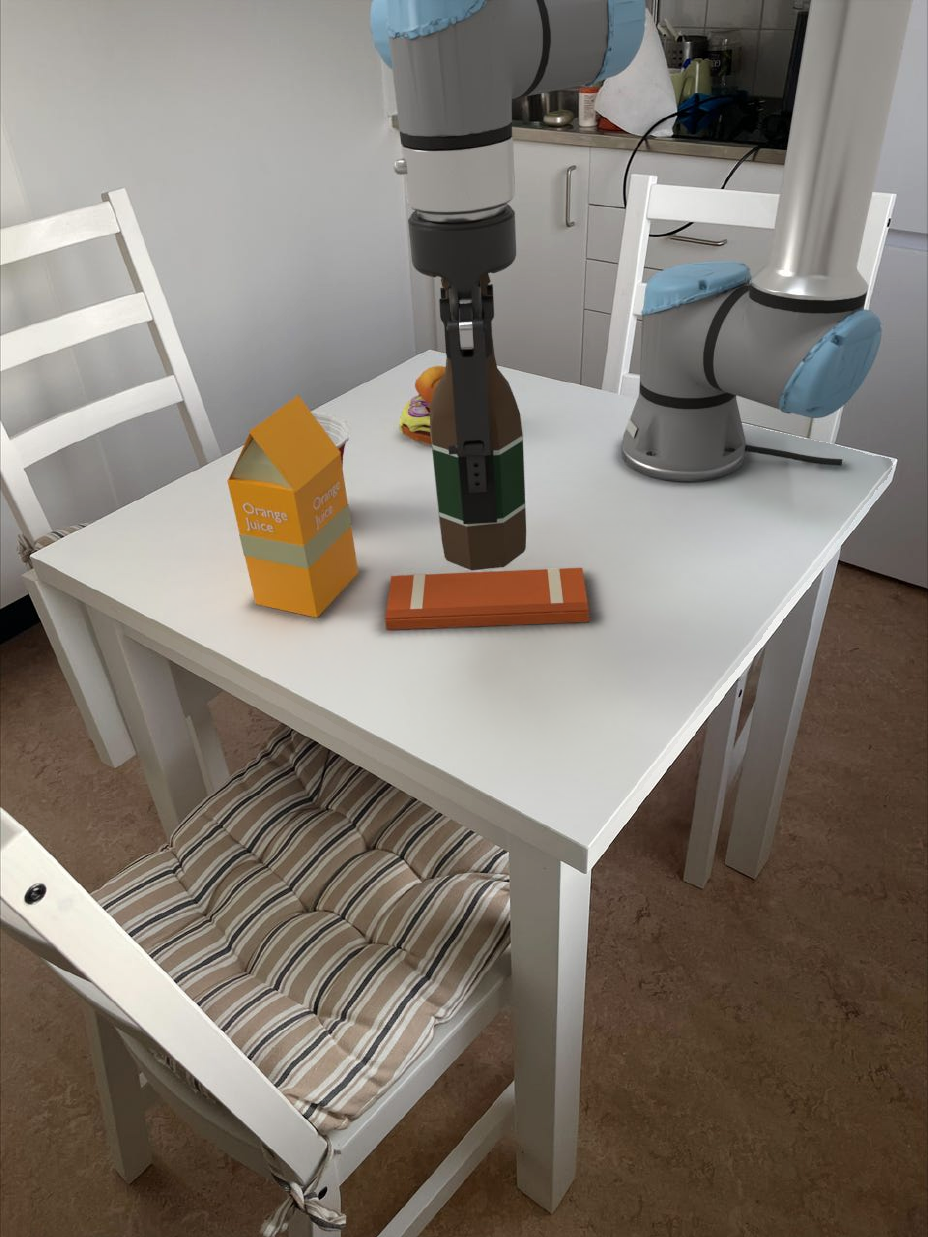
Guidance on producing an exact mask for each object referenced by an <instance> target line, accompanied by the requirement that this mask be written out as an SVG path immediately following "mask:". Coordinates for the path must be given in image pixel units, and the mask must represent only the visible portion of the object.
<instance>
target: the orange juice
mask: <svg viewBox="0 0 928 1237" xmlns="http://www.w3.org/2000/svg"><path fill="white" fill-rule="evenodd" d="M311 412H312V411H311V410H310V409H309V407H308V406H307V405H306V403H305V402H304V401H303V399H302V397H300V395H297V396H295V397H294V398H292V399H291V400H290V401H288V402H287V403H285V404H284V405H283V406H281V407H280V408H279V409H277V410H276V411H274V412H273V413H272V414H270V415H269V416H268V417H266V418H265V419H264V420H262V421H261V422H260V423H258V424H257V425H256V426H254V427H253V428H251V429H250V430H248V433H249V434H248V435H247V436H248V437H247V438H246V440H245V443H244V444H243V447H242V449H241V452H240V454H239V455H238V458H237V460H236V462H235V464H234V466H233V469H232V471H231V473H230V475H229V477H228V479H227V480H226V481H227V486H228V490H229V494H230V499H231V503H232V508H233V511H234V516H235V520H236V525H237V528H238V529H237V530H238V536H239V540H240V545H241V548H242V553H243V556H244V560H245V563H246V567H247V572H248V576H249V580H250V585H251V589H252V593H253V594H252V595H253V598H254V603H255V605H258V606H262V607H266V608H273V609H275V610H280V611H284V612H288V613H289V612H290V613H294V614H299V615H303V616H307V617H312V618H319V617H320V616H321V615H322V613H323V612H324V611H325V610H326V609H327V608H328V607H329V606H330V605H331V604H332V603H333V602H334V600H335V599H336V598H337V597H338V596H339V595H340V594H341V593H342V592H343V591H344V589H346V588H347V586H348V585H349V584H350V583H351V582H352V581H353V580H354V579H355V578H356V577H357V575H358V574H359V568H358V567H359V566H358V561H357V554H356V549H355V542H354V535H353V528H352V524H353V523H352V518H351V511H350V506H349V501H348V496H347V495H348V494H347V489H346V482H345V474H344V469H343V468H344V467H343V468H342V461H341V455H340V454H341V452H340V451H339V449H338V448H337V447H336V445H335V444H334V443H333V441H332V440H331V439H330V437H329V436H328V434H327V433H326V432H325V430H324V429H323V428H322V426H321V425H320V424H319V422H318V421H317V420H316V418H315V417H314V416H313V414H312V413H311Z"/></svg>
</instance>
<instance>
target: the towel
mask: <svg viewBox="0 0 928 1237" xmlns="http://www.w3.org/2000/svg"><path fill="white" fill-rule="evenodd" d="M384 615H385V616H384V623H385V630H386V631H391V630H393V631H394V630H417V629H441V628H442V629H443V628H444V629H445V628H468V627H491V626H492V627H493V626H496V627H497V626H516V625H517V626H518V625H541V624H543V625H545V624H567V623H589V621H590V608H589V602H588V596H587V590H586V583H585V577H584V572H583V567H563V568H559V567H558V568H544V569H543V568H541V569H519V570H518V569H517V570H516V569H515V570H493V571H491V570H490V571H469V572H445V573H421V574H417V573H416V574H402V575H400V574H398V575H391V576H390V583H389V589H388V596H387V603H386V610H385V614H384Z"/></svg>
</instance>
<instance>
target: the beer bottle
mask: <svg viewBox="0 0 928 1237" xmlns="http://www.w3.org/2000/svg"><path fill="white" fill-rule="evenodd" d="M489 274H490V273H488V274H486V275H484V276H482V277H481V278H480V281H481V294H483V296H487V295H488V294H487V285H488V284H491V277H490V275H489ZM440 283H441V288H443V287H444V288H445V290H446V298H449V281H448V280H446V279H444V278H442V277H440ZM483 320H484V315H483ZM484 336H485V333H484ZM492 348H493V352H492V355H491V356H490V357H489V358H488V359H487V362H486V363H487V382H488V401H489V421H490V440H491V441H492V442H493V457H494V474H495V492H496V509H497V523H480V524H463V512H462V500H461V488H460V475H459V463H458V456H457V454H450V455H449V449H448V447H449V446H456V445H457V444H456V443H457V437H456V423H455V409H454V396H453V382H452V368H451V360H450V359H448V357H447V356H446V359H445V367H446V368H445V373H444V375H443V377H442V378H441V380H440V382H439V383H438V385H437V387H436V389H435V390H434V394H433V398H432V402H431V405H430V432H431V442H432V445H431V448H432V449H431V452H432V461H433V462H432V463H433V471H434V481H435V483H434V484H435V491H436V493H435V494H436V502H437V511H438V523H439V530H440V537H441V543H442V551H443V557H444V559H445V560H446V561H447V562H449V563H452V564H454V565H456V566H459V567H462V568H464V569H466V570H469V571H470V572H474V571H481V570H489V569H499V568H505V567H506V566H508V565H509V564H511V562H513V561H515V560H516V559H517V558H518V557H520V556H521V555H522V554H524V552H525V551H526V550H527V513H526V512H527V511H526V510H527V509H526V488H525V486H526V484H525V460H524V458H525V457H524V435H523V434H524V433H523V425H522V417H521V412H520V408H519V405H518V403H517V400H516V397H515V395H514V392H513V389H512V387H511V385H510V383H509V381H508V380H507V378H506V377H505V376H504V375H503V373H502V372H501V371H500V370H499V368H498V364H497V360H496V356H495V348H494V339H493V337H492Z"/></svg>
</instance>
